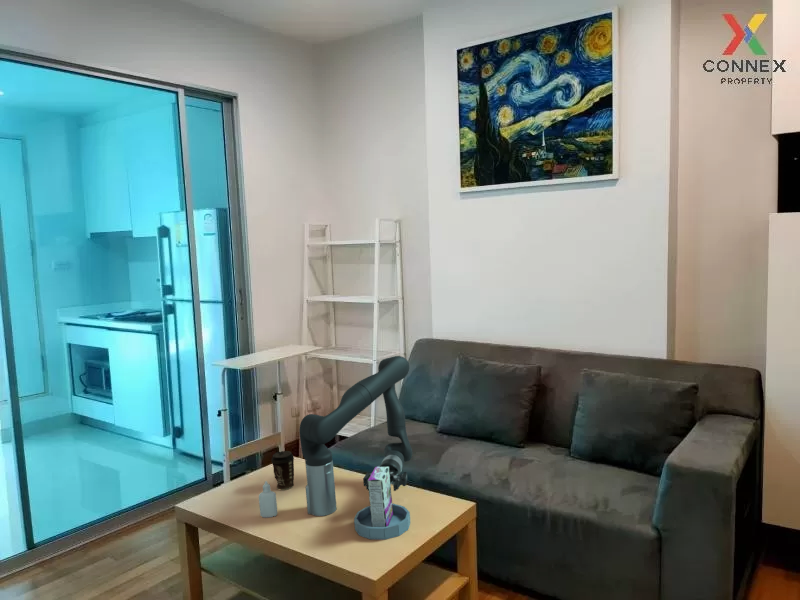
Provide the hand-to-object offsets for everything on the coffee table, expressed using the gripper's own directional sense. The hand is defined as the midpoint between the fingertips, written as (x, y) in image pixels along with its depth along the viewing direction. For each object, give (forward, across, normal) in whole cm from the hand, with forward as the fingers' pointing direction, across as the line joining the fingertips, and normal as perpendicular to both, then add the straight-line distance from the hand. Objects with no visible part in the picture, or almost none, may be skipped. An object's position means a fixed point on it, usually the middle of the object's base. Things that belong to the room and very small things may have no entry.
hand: (381, 488), depth 188 cm
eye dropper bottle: (-4, -41, +12) cm, 43 cm away
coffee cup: (-28, -44, +12) cm, 54 cm away
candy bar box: (+2, 0, +11) cm, 11 cm away
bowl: (+2, 0, +12) cm, 12 cm away
